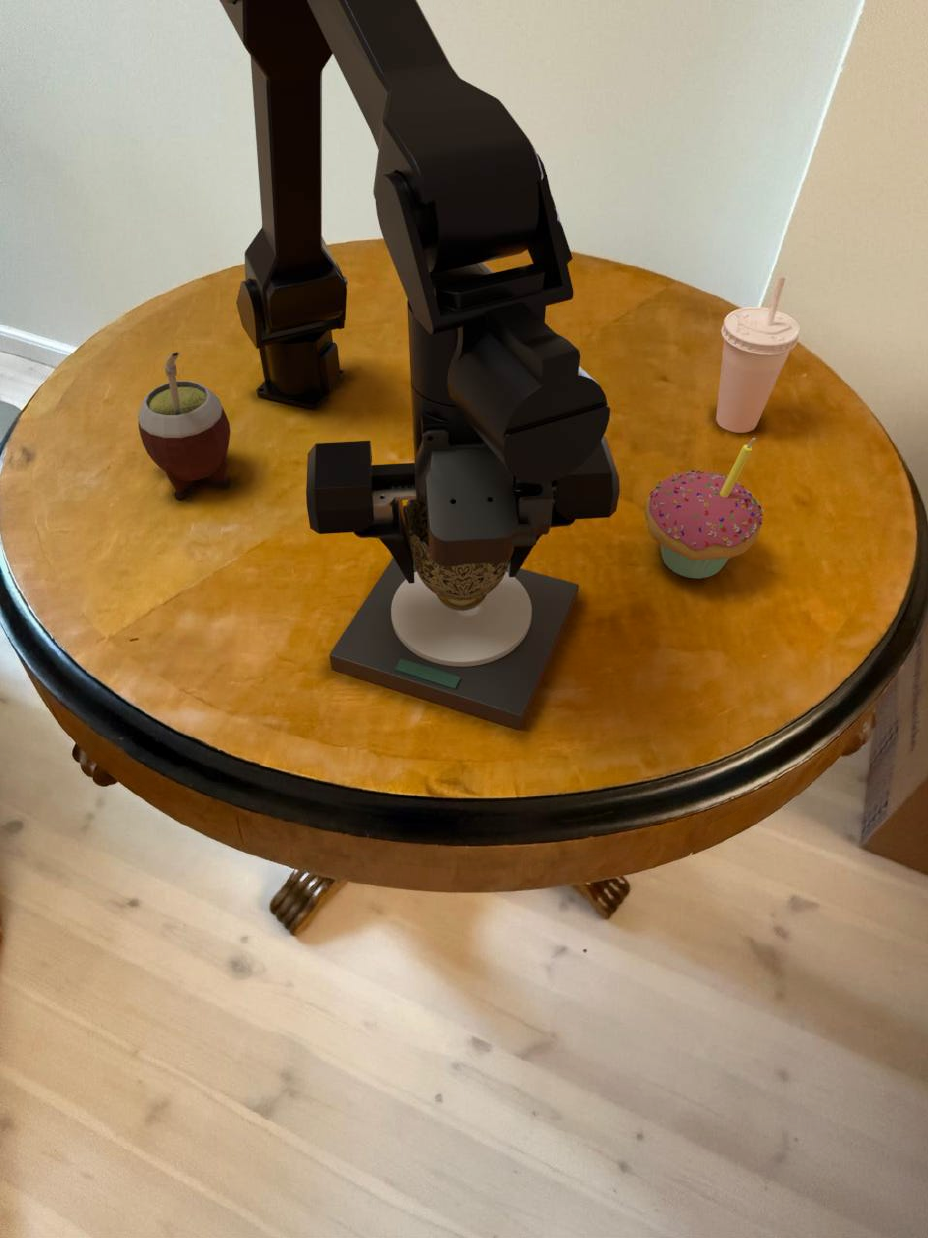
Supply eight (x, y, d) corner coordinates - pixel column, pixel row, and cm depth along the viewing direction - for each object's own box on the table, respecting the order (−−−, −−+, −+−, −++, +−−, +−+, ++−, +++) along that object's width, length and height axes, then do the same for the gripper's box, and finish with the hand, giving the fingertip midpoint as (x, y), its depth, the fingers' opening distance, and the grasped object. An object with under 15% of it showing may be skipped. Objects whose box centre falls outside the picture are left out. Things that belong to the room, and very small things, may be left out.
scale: (331, 669, 63) (327, 649, 61) (407, 551, 71) (406, 530, 69) (520, 730, 59) (522, 710, 58) (577, 599, 67) (580, 578, 66)
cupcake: (752, 536, 72) (793, 410, 63) (739, 609, 67) (781, 481, 58) (647, 513, 74) (672, 387, 65) (625, 582, 69) (650, 454, 60)
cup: (407, 562, 65) (401, 475, 59) (507, 556, 66) (511, 469, 60) (411, 639, 60) (405, 552, 54) (520, 632, 61) (526, 545, 55)
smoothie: (772, 445, 80) (818, 298, 70) (700, 436, 81) (734, 290, 71) (770, 405, 85) (813, 261, 74) (701, 397, 85) (734, 254, 75)
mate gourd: (186, 446, 80) (142, 286, 69) (263, 465, 78) (231, 304, 67) (136, 496, 75) (81, 333, 64) (217, 518, 73) (175, 354, 62)
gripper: (287, 477, 44) (322, 677, 56) (660, 458, 45) (619, 656, 57) (295, 355, 51) (324, 553, 63) (615, 341, 53) (586, 538, 64)
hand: (460, 576), depth 62 cm, fingers closed on cup, 6 cm apart
